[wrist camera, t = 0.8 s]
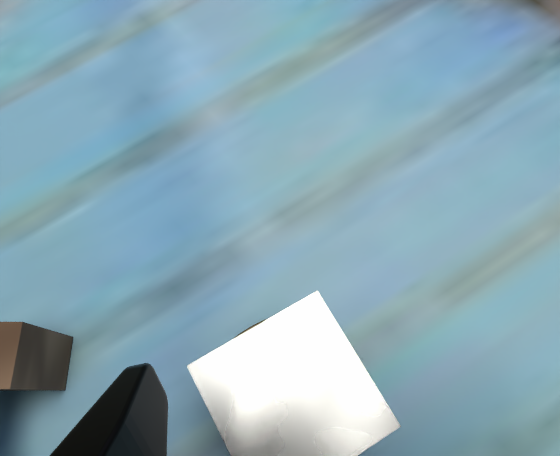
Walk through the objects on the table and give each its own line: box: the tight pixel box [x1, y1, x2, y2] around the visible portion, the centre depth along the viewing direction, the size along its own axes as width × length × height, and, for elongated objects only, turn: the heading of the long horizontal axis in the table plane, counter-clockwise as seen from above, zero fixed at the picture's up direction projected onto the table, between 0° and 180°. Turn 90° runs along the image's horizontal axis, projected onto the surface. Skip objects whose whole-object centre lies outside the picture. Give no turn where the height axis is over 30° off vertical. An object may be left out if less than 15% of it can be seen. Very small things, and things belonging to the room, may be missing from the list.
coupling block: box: [187, 290, 401, 456], centre depth 18 cm, size 6×5×8 cm
